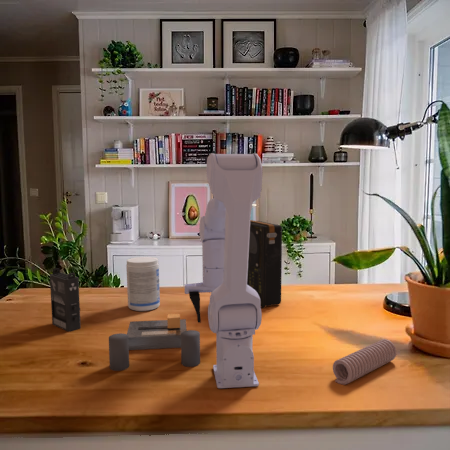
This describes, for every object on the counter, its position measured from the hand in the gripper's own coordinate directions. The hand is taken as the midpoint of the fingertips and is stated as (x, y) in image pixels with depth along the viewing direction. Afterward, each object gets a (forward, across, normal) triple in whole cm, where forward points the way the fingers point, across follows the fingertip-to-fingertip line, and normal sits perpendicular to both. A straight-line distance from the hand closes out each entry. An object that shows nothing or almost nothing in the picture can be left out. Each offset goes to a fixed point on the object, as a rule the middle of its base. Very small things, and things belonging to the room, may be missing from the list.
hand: (214, 320), depth 109 cm
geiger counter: (+4, +38, -13) cm, 40 cm away
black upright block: (+4, -17, -29) cm, 34 cm away
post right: (+4, +6, +14) cm, 16 cm away
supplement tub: (+4, +19, -27) cm, 33 cm away
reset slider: (+1, +10, 0) cm, 10 cm away
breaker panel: (+4, +14, 0) cm, 15 cm away
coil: (+5, -29, +22) cm, 37 cm away
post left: (+4, +22, +14) cm, 26 cm away
